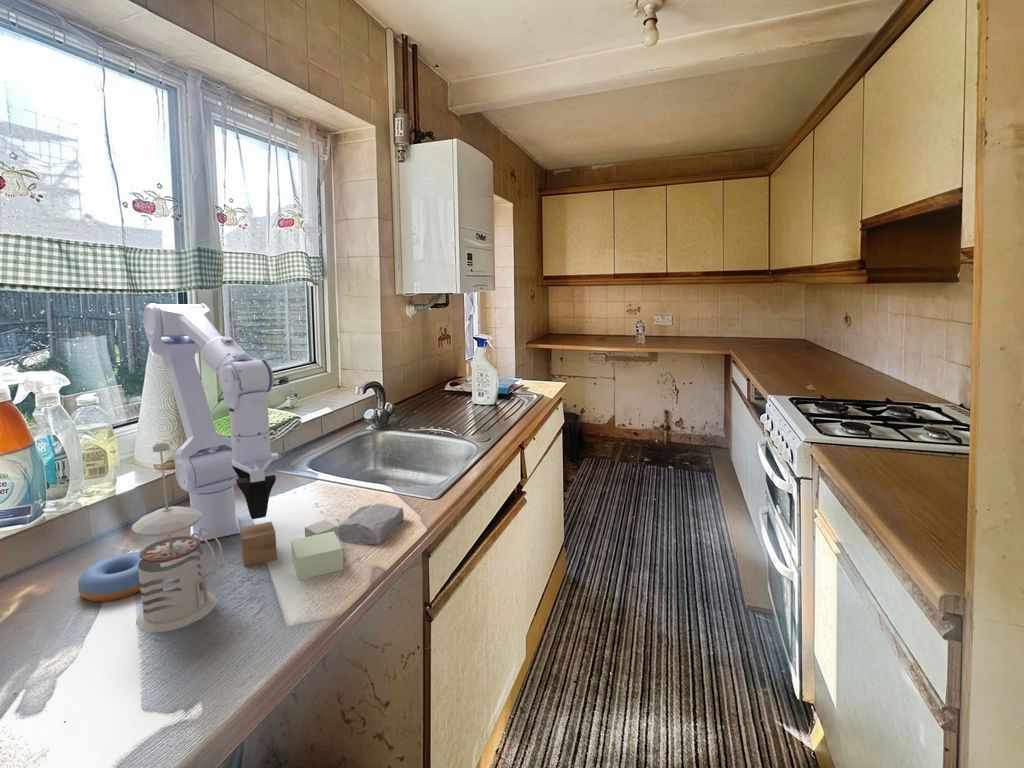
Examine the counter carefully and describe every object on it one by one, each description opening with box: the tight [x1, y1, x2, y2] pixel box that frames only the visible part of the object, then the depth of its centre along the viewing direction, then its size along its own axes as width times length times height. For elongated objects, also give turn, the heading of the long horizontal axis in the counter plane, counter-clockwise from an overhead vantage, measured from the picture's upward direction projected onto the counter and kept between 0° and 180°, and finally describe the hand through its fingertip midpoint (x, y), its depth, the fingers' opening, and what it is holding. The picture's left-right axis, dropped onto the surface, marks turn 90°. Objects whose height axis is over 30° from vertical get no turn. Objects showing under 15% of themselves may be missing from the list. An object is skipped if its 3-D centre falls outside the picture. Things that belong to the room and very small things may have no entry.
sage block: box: [290, 531, 344, 581], centre depth 84 cm, size 7×7×4 cm
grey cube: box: [304, 519, 339, 539], centre depth 90 cm, size 4×4×4 cm
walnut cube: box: [239, 521, 278, 568], centre depth 86 cm, size 5×5×5 cm
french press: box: [131, 441, 223, 634], centre depth 70 cm, size 10×12×25 cm
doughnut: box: [77, 551, 142, 602], centre depth 77 cm, size 10×10×5 cm
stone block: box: [337, 503, 405, 546], centre depth 97 cm, size 12×5×10 cm
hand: (256, 509), depth 85 cm, fingers open, 7 cm apart
